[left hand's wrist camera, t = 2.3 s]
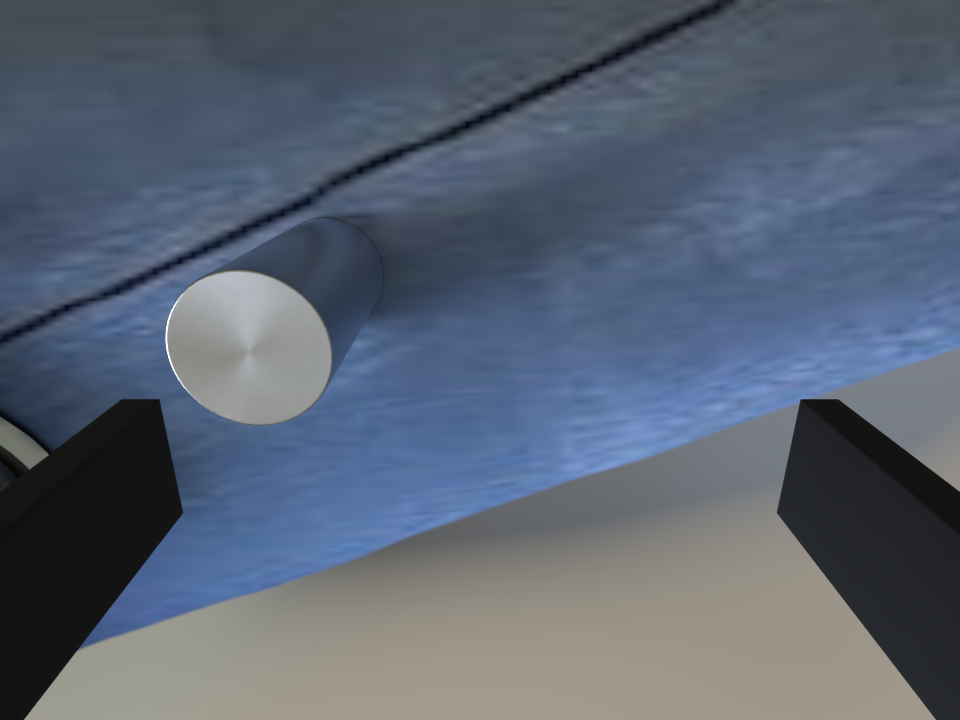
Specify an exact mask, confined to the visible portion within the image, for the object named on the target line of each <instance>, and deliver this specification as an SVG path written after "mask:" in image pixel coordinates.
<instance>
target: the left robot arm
mask: <svg viewBox="0 0 960 720" xmlns="http://www.w3.org/2000/svg"><path fill="white" fill-rule="evenodd" d="M182 514H183V510H182V505H181V500H180V496H179V491H178V486H177V481H176V477H175V472H174V467H173V462H172V458H171V453H170V448H169V443H168V439H167V434H166V429H165V424H164V419H163V415H162V410H161V405H160V400H159V399H122V400H120V401H119V402H118V403H116V404H115V405H114V406H112V407H111V408H110V409H109V410H107V411H106V412H105V413H103V414H102V415H101V416H99V417H98V418H97V419H95V420H94V421H93V422H91V423H90V424H89V425H87V426H86V427H85V428H84V429H82V430H81V431H80V432H78V433H77V434H76V435H74V436H73V437H72V438H70V439H69V440H68V441H66V442H65V443H64V444H62V445H61V446H60V447H59V448H57V449H56V450H55V451H53V452H52V453H51V454H49V455H48V456H47V457H45V458H44V459H43V460H41V461H40V462H39V463H37V464H36V465H35V466H34V467H32V468H31V469H30V470H28V471H27V472H26V473H24V474H23V475H22V476H20V477H19V478H18V479H16V480H15V481H14V482H12V483H11V484H10V485H9V486H7V487H6V488H5V489H3V490H2V491H1V492H0V720H24V719H25V718H26V716H27V715H28V714H29V712H30V711H31V710H32V708H33V707H34V706H35V705H36V703H37V702H38V701H39V699H40V698H41V697H42V695H43V694H44V693H45V692H46V690H47V689H48V688H49V686H50V685H51V684H52V682H53V681H54V680H55V679H56V677H57V676H58V675H59V673H60V672H61V671H62V670H63V668H64V667H65V666H66V664H67V663H68V662H69V660H70V659H71V658H72V657H73V655H74V654H75V653H76V651H77V650H78V649H79V647H80V646H81V645H82V644H83V642H84V641H85V640H86V638H87V637H88V636H89V634H90V633H91V632H92V631H93V629H94V628H95V627H96V625H97V624H98V623H99V621H100V620H101V619H102V618H103V616H104V615H105V614H106V612H107V611H108V610H109V608H110V607H111V606H112V605H113V603H114V602H115V601H116V599H117V598H118V597H119V595H120V594H121V593H122V592H123V590H124V589H125V588H126V586H127V585H128V584H129V582H130V581H131V580H132V579H133V577H134V576H135V575H136V573H137V572H138V571H139V569H140V568H141V567H142V566H143V564H144V563H145V562H146V560H147V559H148V558H149V556H150V555H151V554H152V553H153V551H154V550H155V549H156V547H157V546H158V545H159V544H160V542H161V541H162V540H163V538H164V537H165V536H166V534H167V533H168V532H169V531H170V529H171V528H172V527H173V525H174V524H175V523H176V521H177V520H178V519H179V518H180V516H181V515H182ZM777 514H778V515H779V516H780V517H781V519H782V520H783V521H784V523H785V524H786V525H787V527H788V528H789V529H790V530H791V532H792V533H793V534H794V536H795V537H796V538H797V540H798V541H799V542H800V544H801V545H802V546H803V547H804V549H805V550H806V551H807V553H808V554H809V555H810V556H811V558H812V559H813V560H814V562H815V563H816V564H817V566H818V567H819V568H820V569H821V571H822V572H823V573H824V575H825V576H826V577H827V579H828V580H829V581H830V582H831V584H832V585H833V586H834V588H835V589H836V590H837V592H838V593H839V594H840V595H841V597H842V598H843V599H844V601H845V602H846V603H847V605H848V606H849V607H850V608H851V610H852V611H853V612H854V614H855V615H856V616H857V618H858V619H859V620H860V621H861V623H862V624H863V625H864V627H865V628H866V629H867V630H868V632H869V633H870V634H871V636H872V637H873V638H874V640H875V641H876V642H877V644H878V645H879V646H880V647H881V649H882V650H883V651H884V652H885V654H886V655H887V657H888V658H889V659H890V660H891V662H892V663H893V664H894V666H895V667H896V668H897V670H898V671H899V672H900V673H901V675H902V676H903V677H904V679H905V680H906V681H907V682H908V684H909V685H910V686H911V688H912V689H913V690H914V692H915V693H916V694H917V695H918V697H919V698H920V699H921V701H922V702H923V703H924V705H925V706H926V707H927V708H928V710H929V711H930V712H931V714H932V715H933V716H934V718H935V719H936V720H960V492H959V491H958V490H957V489H955V488H954V487H953V486H951V485H950V484H949V483H948V482H946V481H945V480H944V479H942V478H941V477H939V476H938V475H937V474H936V473H934V472H933V471H932V470H930V469H929V468H928V467H926V466H925V465H924V464H922V463H921V462H920V461H918V460H917V459H916V458H915V457H913V456H912V455H911V454H909V453H908V452H907V451H905V450H904V449H903V448H901V447H900V446H899V445H898V444H896V443H895V442H894V441H892V440H891V439H890V438H888V437H887V436H886V435H884V434H883V433H882V432H880V431H879V430H878V429H876V428H875V427H874V426H873V425H871V424H870V423H869V422H867V421H866V420H865V419H863V418H862V417H861V416H859V415H858V414H857V413H855V412H854V411H853V410H851V409H850V408H849V407H848V406H846V405H845V404H844V403H842V402H841V401H840V400H838V399H801V400H800V405H799V410H798V415H797V419H796V424H795V429H794V434H793V439H792V443H791V448H790V453H789V458H788V462H787V467H786V472H785V477H784V482H783V486H782V491H781V496H780V501H779V505H778V510H777Z"/></svg>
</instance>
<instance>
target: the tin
mask: <svg viewBox="0 0 960 720" xmlns="http://www.w3.org/2000/svg"><path fill="white" fill-rule="evenodd" d="M383 281H384V273H383V266H382V262H381V259H380V256H379V254H378V252H377V250H376V248H375V246H374V245H373V243H372V242H371V241H370V240H369V239H368V237H367V236H366V235H365V234H363V233H362V232H361V231H360V230H358V229H357V228H355V227H354V226H352V225H350V224H348V223H346V222H343V221H340V220H336V219H330V218H317V219H312V220H308V221H305V222H303V223H301V224H299V225H297V226H295V227H293V228H291V229H289V230H288V231H286V232H284V233H282V234H280V235H278V236H277V237H275V238H273V239H271V240H269V241H267V242H266V243H264V244H262V245H260V246H258V247H256V248H255V249H253V250H251V251H249V252H247V253H245V254H244V255H242V256H240V257H238V258H236V259H234V260H233V261H231V262H229V263H227V264H225V265H223V266H222V267H220V268H218V269H216V270H214V271H212V272H211V273H209V274H207V275H205V276H203V277H201V278H200V279H198V280H196V281H195V282H194V283H192V284H191V285H189V286H188V287H187V288H186V289H185V290H184V291H183V292H182V293H181V294H180V296H179V297H178V298H177V300H176V301H175V303H174V305H173V307H172V309H171V311H170V314H169V317H168V320H167V326H166V349H167V354H168V357H169V361H170V364H171V366H172V369H173V371H174V373H175V375H176V376H177V378H178V380H179V381H180V383H181V384H182V386H183V387H184V388H185V389H186V391H187V392H188V393H189V394H190V395H191V396H192V397H193V398H194V399H195V400H196V401H197V402H199V403H200V404H201V405H203V406H204V407H205V408H207V409H208V410H210V411H212V412H213V413H215V414H217V415H219V416H221V417H224V418H226V419H228V420H232V421H235V422H238V423H243V424H249V425H271V424H277V423H282V422H285V421H288V420H291V419H293V418H295V417H298V416H299V415H301V414H303V413H304V412H306V411H307V410H308V409H310V408H311V407H312V406H313V405H314V404H315V403H316V402H317V401H318V400H319V399H320V397H321V396H322V394H323V393H324V391H325V390H326V388H327V386H328V385H329V383H330V381H331V379H332V378H333V376H334V374H335V373H336V371H337V369H338V367H339V366H340V364H341V362H342V361H343V359H344V357H345V356H346V354H347V352H348V350H349V349H350V347H351V345H352V344H353V342H354V340H355V338H356V337H357V335H358V333H359V332H360V330H361V328H362V327H363V325H364V323H365V321H366V320H367V318H368V316H369V315H370V313H371V311H372V310H373V308H374V306H375V304H376V303H377V301H378V299H379V297H380V294H381V291H382V288H383Z"/></svg>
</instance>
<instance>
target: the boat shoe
mask: <svg viewBox="0 0 960 720" xmlns="http://www.w3.org/2000/svg"><path fill="white" fill-rule="evenodd" d="M47 456H48V453H47V452H46V451H45V450H44V449H42V448H41V447H40V446H39V445H38V444H37V443H36V442H35V441H34V440H33V439H32V438H30V437H29V436H28V435H27V434H25V433H24V432H22V431H21V430H19V429H18V428H16V427H15V426H13V425H12V424H10V423H9V422H7V421H6V420H4V419H3V418H1V417H0V492H1V491H2V490H3V489H5V488H6V487H7V486H9V485H10V484H11V483H12V482H14V481H15V480H16V479H18V478H19V477H20V476H22V475H23V474H24V473H26V472H27V471H28V470H30V469H31V468H32V467H34V466H35V465H36V464H37V463H39V462H40V461H41V460H43V459H44V458H45V457H47Z"/></svg>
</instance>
